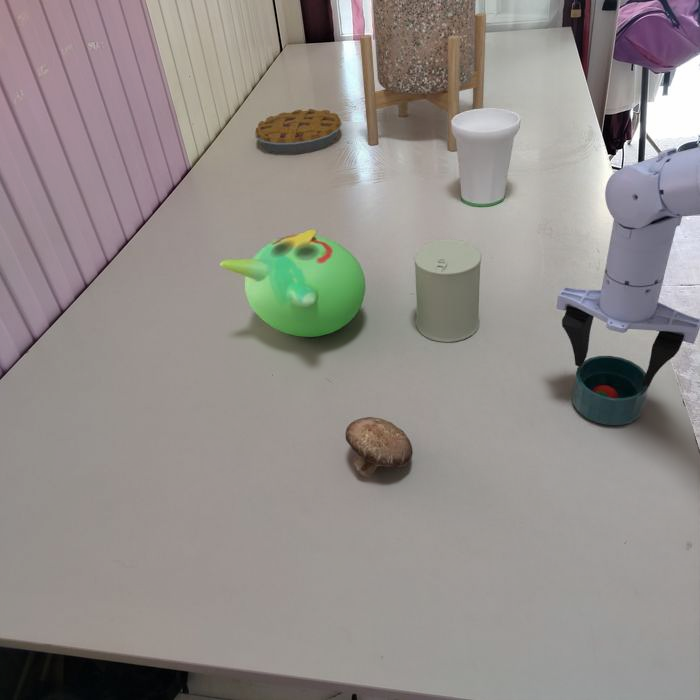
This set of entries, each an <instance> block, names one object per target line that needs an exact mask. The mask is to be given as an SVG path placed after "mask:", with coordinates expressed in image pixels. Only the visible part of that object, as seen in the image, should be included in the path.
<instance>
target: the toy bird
mask: <svg viewBox="0 0 700 700" xmlns="http://www.w3.org/2000/svg"><path fill="white" fill-rule="evenodd" d="M219 264H220V267H222V268H223V269H225V270H227V271H230V272H232V273H235V274H238V275H240V276H243V277H244V290H245V297H246V299H247V301H248V304H249V306H250V308H251V309H252V310H253V311H254V313H255V314H256V315H257V316H258V318H259V319H260V320H262V321H263V322H264V323H266V324H267V325H268V326H271V327H272V328H273V329H275V330H277V331H279V332H281V333H284V334H287V335H290V336H294V337H295V336H296V337H304V338H313V337H321V336H325V335H330V334H333V333H334V332H336V331H338V330H340V329H342V328H343V327H345V326H346V325H347V324H349V323H350V322H351V321H353V319H354V318H355V317H356V315H357V314H358V312H359V310H360V309H361V307H362V305H363V303H364V302H363V301H364V298H365V294H366V277H365V273H364V270H363V268H362V267H361V264H360V262H359V261H358V259H357V258H356V257H355V256H354V254H353V253H351V252H350V251H349V250H348V249H347V248H346V247H344V246H343V245H342V244H340V243H339V242H336V241H334V240H332V239H330V238H328V237H324V236H322V235H317V229H315V228H313V229H309V230H306V231H304V232H303V231H302V232H301V233H298V234H290V235H285V236H281V237H279V238H277V239H274V240H272V241H270V242H269V243H267V244H265V245H264V246H263V247H262V248H260V249H259V250H258V252H257V253H255V255H254V256H253V258H235V259H225V260H222V261H220V263H219Z"/></svg>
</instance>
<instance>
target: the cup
mask: <svg viewBox="0 0 700 700" xmlns="http://www.w3.org/2000/svg"><path fill="white" fill-rule="evenodd" d="M521 121H522V119H521V117H520V115H519V113H517V112H515V111H512V110H509V109H504V108H494V107H491V108H490V107H483V109H473V108H472V109H470V110H465V111H461V112H459V114H458V115H456V116H455V117H454V118H453V119H452V120H451V130H452V134H453V135H454V137H455V138H456V144H457V151H456V153H457V162H458V163H457V164H458V170H459V171H458V173H459V184H460V198H461V201H462V202H463V203H464V204H466V205H468V206H472V207H480V208H482V207H483V208H484V207H492V206H496V205H499V204H500V203H502V202H503V201H504V199H505V198H506V187H507V180H508V175H509V169H510V164H511V163H510V162H511V157H512V151H513V147H514V146H513V145H514V141H515V137H516V136H517V134H518V132H519V131H520V129H521Z"/></svg>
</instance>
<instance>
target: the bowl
mask: <svg viewBox="0 0 700 700" xmlns="http://www.w3.org/2000/svg"><path fill="white" fill-rule="evenodd" d="M645 375H646V371H645V370H644V369H643V368H642V367H641V366H639V365H638V364H636V363H635V362H633V361H632V360H629V359H627V358H623V357H620V356H614V355H598V356H597V355H596V356H592V357H589V358H587V359H585V360H584V362H583V364H582V366H581V367H579V366H577V368H576V371H575V376H574V377H575V378H574V383H573V384H574V385H573V390H572V395H571V398H572V399H571V400H572V403H573V406H574V408H575V409H576V410H577V412H578V413H580V414H581V415H582V416H583V417H584V418H586V419H588V420H590V421H593V422H595V423H597V424H601V425H606V426H622V425H626V424H630V423H632V422H634V421H635V420H636V419H638V418H639V417H640V415H641V414H642V412H643V409H644V406H645V402H646V398H647V394H648V391H649V387H646V386H643V380H644V377H645ZM600 385H607V386H610V387H612V388H613V389H614V390H615V391H616V392H617V394H618V398H611V397H605V396H602V395H599V394H597V393H594V392H593V391H592V390H593V389H594V388H595V387H597V386H600Z"/></svg>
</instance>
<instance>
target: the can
mask: <svg viewBox="0 0 700 700" xmlns="http://www.w3.org/2000/svg"><path fill="white" fill-rule="evenodd" d="M413 260H414V261H413V262H414V272H415V292H416V293H415V295H416V297H415V298H416V319H415V320H416V322H415V325H416V329H417V330H418V332H419V333H420V334H421V335H422V336H423V337H425V338H426V339H429V340H431V341H435V342H440V343H455V342H461V341H464V340H466V339H468V338H470V337H473V335H475V333H477V331H478V329H479V327H480V318H479V316H480V312H479V311H480V310H479V309H480V283H481V281H480V279H481V263H482V252H481V251H480V249H479V248H478V246H476V245H474V244H473V243H470V242H468V241H466V240H465V241H464V240H460V239H439V240H434V241H431V242H428V243H425V244H423V245H422V246H420V247H419V248H418V249H417V250H415V254H414V256H413Z"/></svg>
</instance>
